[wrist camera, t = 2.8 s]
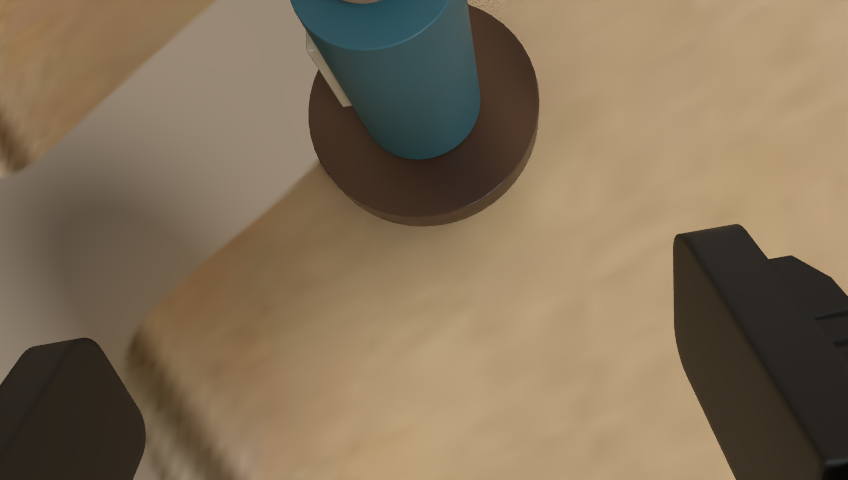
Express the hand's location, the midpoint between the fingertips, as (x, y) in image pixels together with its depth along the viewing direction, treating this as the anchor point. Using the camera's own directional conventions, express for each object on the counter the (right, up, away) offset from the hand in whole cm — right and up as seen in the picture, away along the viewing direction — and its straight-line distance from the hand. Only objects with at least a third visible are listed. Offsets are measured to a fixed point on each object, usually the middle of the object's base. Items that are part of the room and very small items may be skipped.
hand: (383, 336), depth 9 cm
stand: (+1, +6, +17) cm, 18 cm away
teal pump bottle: (0, +6, +16) cm, 17 cm away
